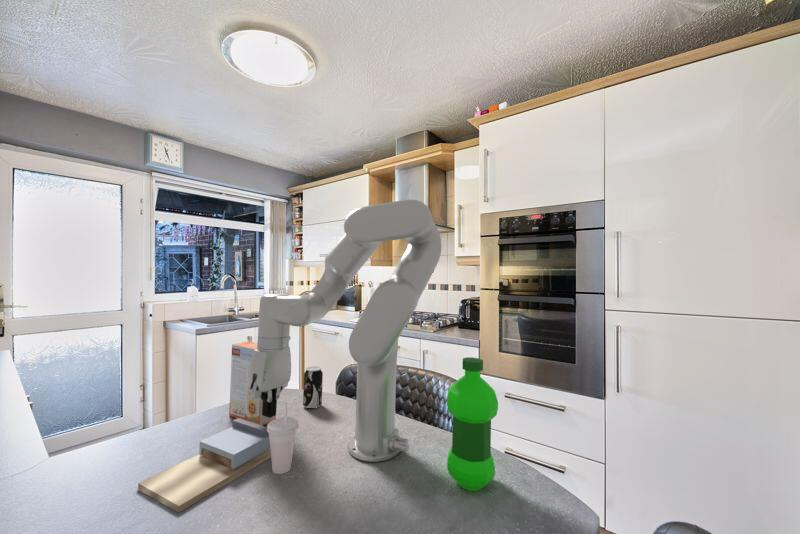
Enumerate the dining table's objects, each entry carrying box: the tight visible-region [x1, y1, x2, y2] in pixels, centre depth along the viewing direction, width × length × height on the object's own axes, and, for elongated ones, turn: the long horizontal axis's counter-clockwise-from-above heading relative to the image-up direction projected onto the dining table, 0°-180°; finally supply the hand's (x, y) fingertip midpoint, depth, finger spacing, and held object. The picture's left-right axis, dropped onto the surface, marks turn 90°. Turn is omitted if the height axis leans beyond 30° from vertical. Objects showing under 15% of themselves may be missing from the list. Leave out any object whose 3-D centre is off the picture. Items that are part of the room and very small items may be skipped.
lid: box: [198, 418, 270, 469], centre depth 75 cm, size 11×10×4 cm
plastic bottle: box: [446, 356, 499, 492], centre depth 68 cm, size 10×10×25 cm
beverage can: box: [302, 366, 324, 409], centre depth 105 cm, size 6×6×12 cm
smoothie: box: [266, 402, 299, 475], centre depth 71 cm, size 6×6×14 cm
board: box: [137, 449, 271, 514], centre depth 71 cm, size 13×23×3 cm, turn 153°
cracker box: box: [228, 341, 277, 426], centre depth 96 cm, size 14×6×21 cm, turn 58°
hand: (268, 415), depth 84 cm, fingers closed
